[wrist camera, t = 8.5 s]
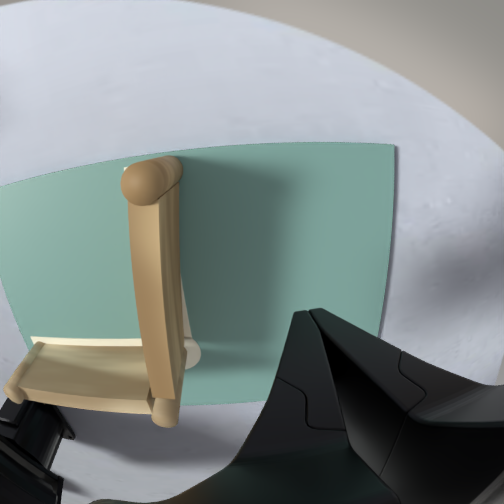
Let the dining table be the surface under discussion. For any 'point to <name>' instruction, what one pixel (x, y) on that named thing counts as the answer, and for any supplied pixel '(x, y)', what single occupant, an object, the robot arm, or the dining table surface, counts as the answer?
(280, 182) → the board
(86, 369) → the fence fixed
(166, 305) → the fence panel
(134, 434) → the dining table surface
